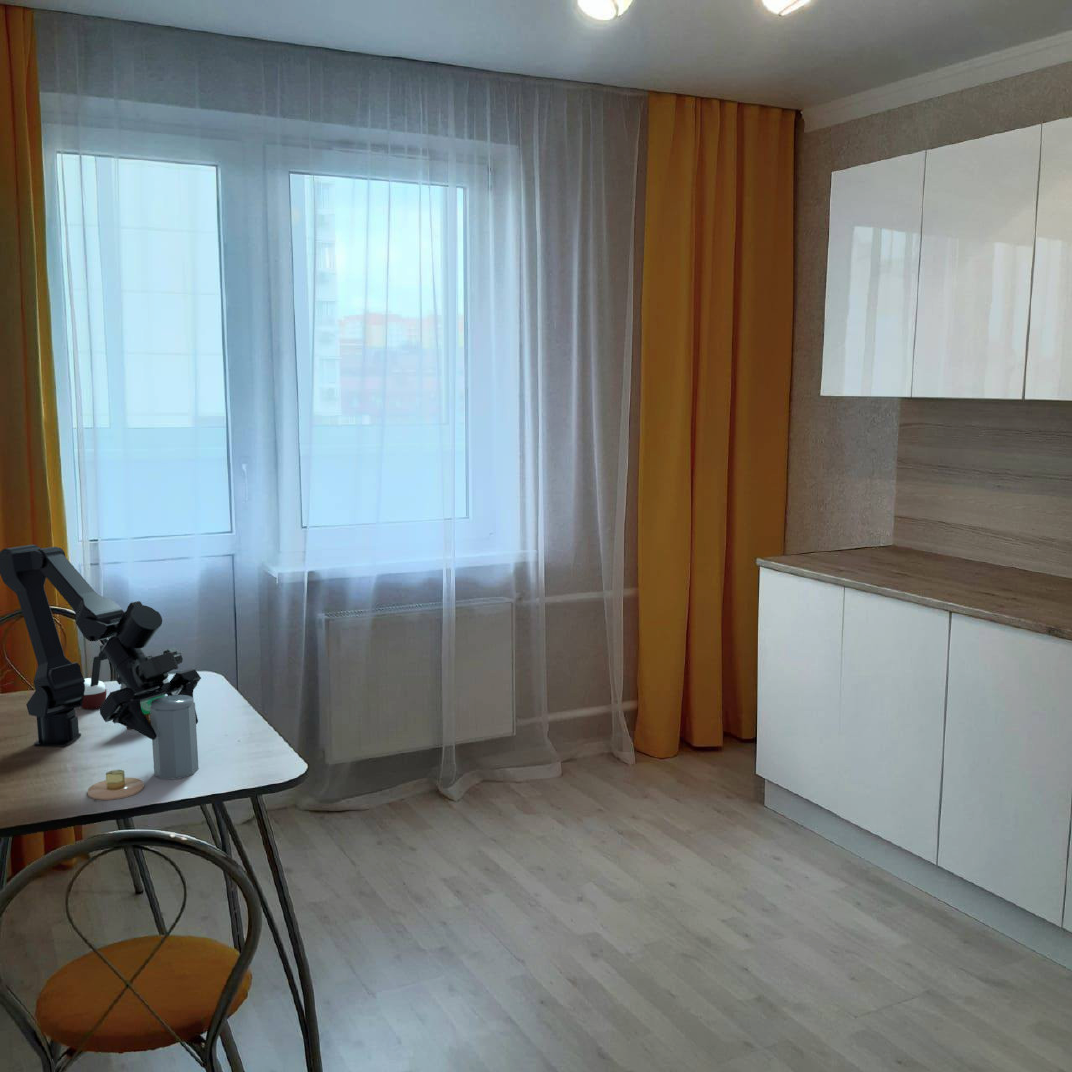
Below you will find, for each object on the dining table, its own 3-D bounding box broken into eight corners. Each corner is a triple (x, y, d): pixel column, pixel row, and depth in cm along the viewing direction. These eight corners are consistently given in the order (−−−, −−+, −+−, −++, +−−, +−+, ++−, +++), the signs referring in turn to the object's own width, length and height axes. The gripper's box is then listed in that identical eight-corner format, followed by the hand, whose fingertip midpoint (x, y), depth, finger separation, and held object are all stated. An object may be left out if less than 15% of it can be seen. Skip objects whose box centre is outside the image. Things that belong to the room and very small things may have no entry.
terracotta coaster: (78, 799, 180) (77, 796, 180) (103, 779, 189) (102, 776, 188) (129, 800, 179) (129, 797, 179) (152, 780, 188) (152, 777, 188)
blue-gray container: (148, 778, 189) (144, 706, 187) (165, 764, 196) (161, 694, 194) (188, 779, 188) (184, 707, 187) (203, 764, 196) (199, 695, 194)
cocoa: (76, 705, 234) (70, 652, 232) (107, 700, 236) (101, 647, 235) (77, 715, 225) (70, 660, 224) (109, 710, 228) (103, 655, 226)
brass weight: (103, 790, 182) (102, 776, 182) (111, 783, 185) (110, 769, 185) (120, 790, 182) (119, 776, 182) (128, 783, 185) (127, 770, 185)
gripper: (105, 647, 183) (152, 719, 179) (190, 626, 199) (236, 691, 195) (79, 686, 188) (125, 756, 184) (164, 662, 204) (208, 726, 200)
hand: (176, 730), depth 191 cm, fingers open, 9 cm apart
